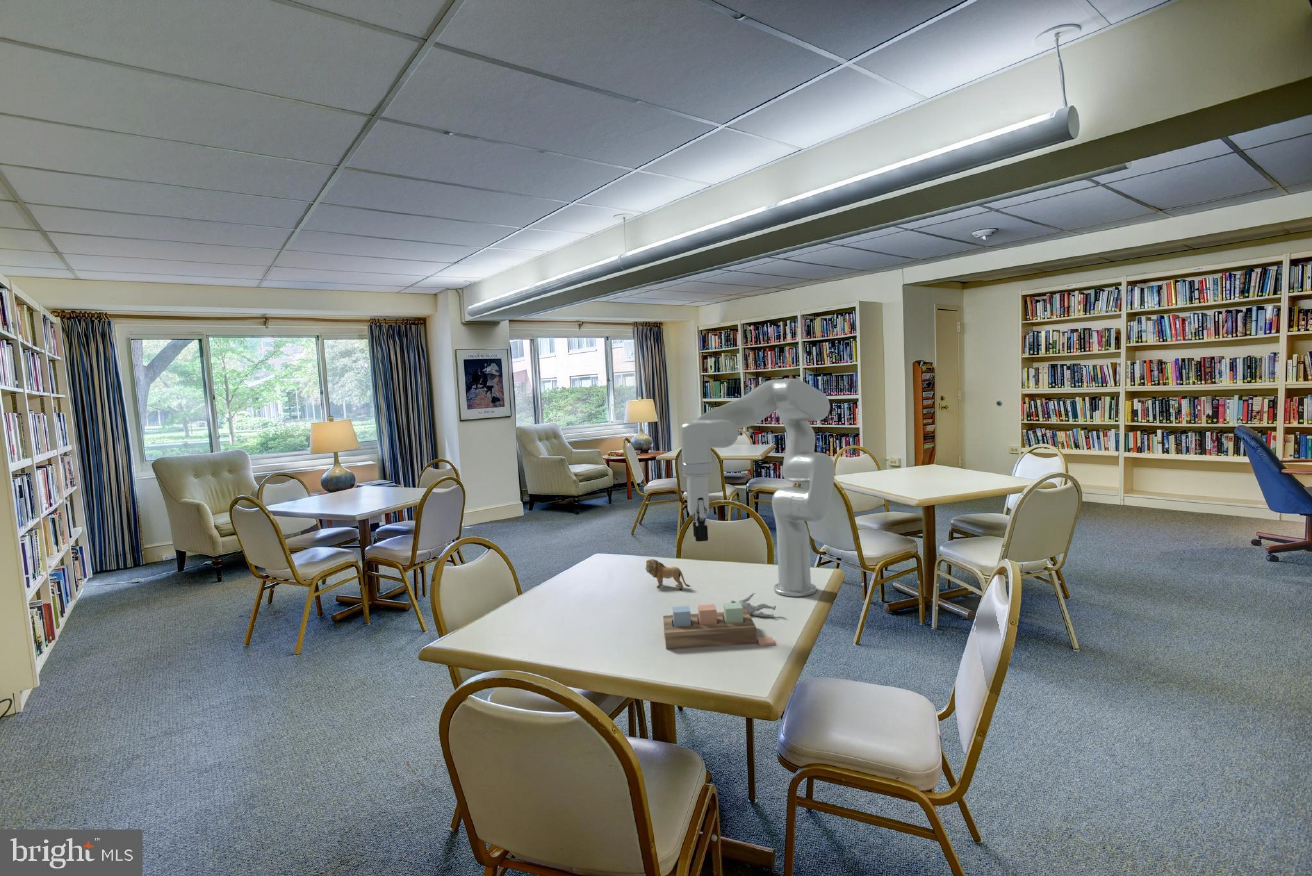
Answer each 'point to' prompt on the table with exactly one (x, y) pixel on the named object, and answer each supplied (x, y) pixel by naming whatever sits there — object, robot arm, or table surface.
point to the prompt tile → (765, 641)
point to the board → (709, 632)
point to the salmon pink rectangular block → (707, 614)
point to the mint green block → (733, 613)
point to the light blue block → (681, 616)
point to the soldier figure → (754, 607)
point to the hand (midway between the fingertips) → (700, 538)
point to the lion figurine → (664, 572)
